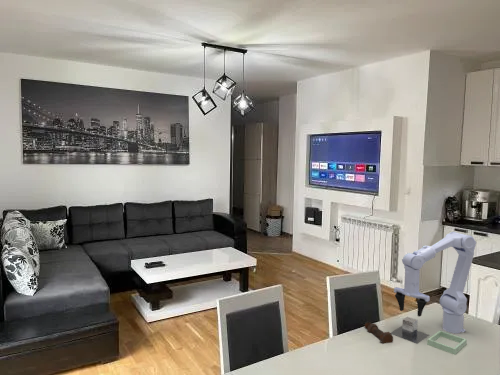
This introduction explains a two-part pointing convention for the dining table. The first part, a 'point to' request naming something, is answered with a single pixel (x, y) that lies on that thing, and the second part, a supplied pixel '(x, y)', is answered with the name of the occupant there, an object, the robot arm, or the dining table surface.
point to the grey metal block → (409, 327)
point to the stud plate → (415, 339)
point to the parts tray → (446, 348)
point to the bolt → (379, 333)
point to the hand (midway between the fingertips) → (410, 313)
